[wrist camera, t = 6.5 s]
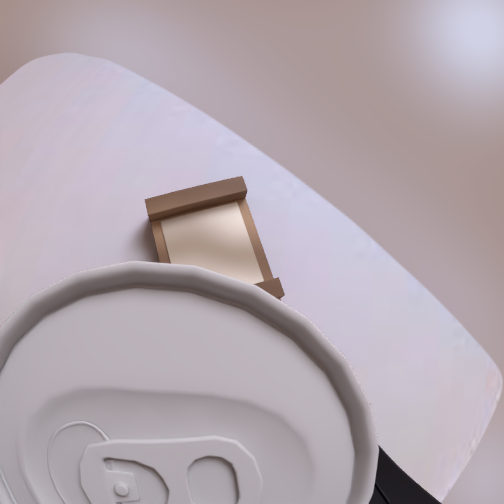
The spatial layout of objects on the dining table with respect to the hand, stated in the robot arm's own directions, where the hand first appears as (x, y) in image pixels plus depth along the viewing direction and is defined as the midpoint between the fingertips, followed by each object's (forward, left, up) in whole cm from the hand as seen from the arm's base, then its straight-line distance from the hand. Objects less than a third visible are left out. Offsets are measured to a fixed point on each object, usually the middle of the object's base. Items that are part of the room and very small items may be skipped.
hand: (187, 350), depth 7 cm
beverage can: (-1, -1, -7) cm, 7 cm away
